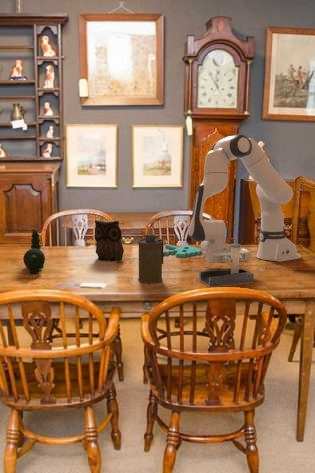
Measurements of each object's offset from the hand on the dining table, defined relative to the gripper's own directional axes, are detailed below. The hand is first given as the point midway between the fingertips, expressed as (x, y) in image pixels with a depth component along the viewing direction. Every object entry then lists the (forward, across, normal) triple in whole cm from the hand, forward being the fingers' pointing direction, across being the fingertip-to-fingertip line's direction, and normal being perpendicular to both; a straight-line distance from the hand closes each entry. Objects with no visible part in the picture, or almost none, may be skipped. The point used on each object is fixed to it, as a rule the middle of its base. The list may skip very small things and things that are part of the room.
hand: (236, 260), depth 216 cm
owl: (-54, -41, +10) cm, 68 cm away
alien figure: (-55, -3, +10) cm, 56 cm away
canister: (-13, -34, +9) cm, 38 cm away
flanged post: (-1, 0, +8) cm, 8 cm away
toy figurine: (-45, -79, +9) cm, 92 cm away
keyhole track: (-1, -4, +9) cm, 10 cm away
